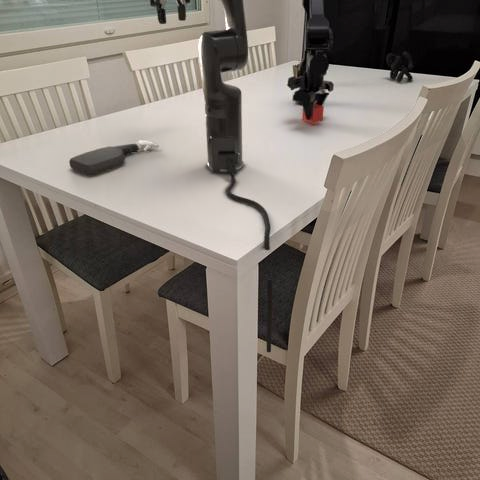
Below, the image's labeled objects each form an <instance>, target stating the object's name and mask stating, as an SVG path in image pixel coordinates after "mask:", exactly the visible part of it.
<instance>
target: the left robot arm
mask: <svg viewBox="0 0 480 480" xmlns="http://www.w3.org/2000/svg"><path fill="white" fill-rule="evenodd" d="M168 1H169V0H149V4H150V7H154V8H155V9H156V14H157V22H158V23H159V24H160V25H166V24H167V14H166V13H167V12H166V9H165V8H166V4H167V2H168ZM174 1H175V3H176V5H177V15H178V20H179V22H180V21H183V22H185V21H186V20H187V9H186V6H187V4H190V3H191V0H174ZM219 2H220V6H221V8H222V11H223V15H224V20H225V21H224V22H225V29H217V30H207V31H204V32H202V34H200V37H199V39H198V40H199V41H198V58H199V66H200V68H199V69H200V76H201V87H202V92H203V98H204V100H203V101H204V116H205V117H204V118H205V133H206V134H205V135H206V151H207V152H206V153H207V168H208V169H209V170H211V172H212V173H228V174H229V176H230V184H229V186H227V187H226V189H225V193H226V195H227V196H228V197H230V198H231V199H232V200H235V201H238V202H242V203H245V204H249V205H251V206H254V207H255V208H256V209H258V210H259V211H260V212H261V214H262V216H263V219H264V224H265V230H264V238H263V245H264V246H263V247H264V250H265V251H270V249H271V247H270V234H271V222H270V219H269V214H268V212H267V211H266V209H265V208H264V207H263V206H262V205H261V204H260V203H258V202H257V201H255V200H253V199H250V198H247V197H243V196H239V195H236V194H234V193H232V191H231V190H232V189H233V188H234V186H235V185H236V177H235V174H234V173H237V171H239V170H240V169H242V168H243V166H244V160H243V114H242V113H243V109H242V108H243V106H242V105H243V104H242V103H243V102H242V101H243V100H242V99H243V98H242V96H243V95H242V90H241V89H240V87H238V86H236V85H232V84H227V83H225V82H224V81H223V78H222V74H224V73H230V72H231V73H232V72H238V71H242V70H244V69H245V67H246V66H247V63H248V59H249V41H248V32H247V31H248V30H247V23H246V14H245V6H244V5H245V4H244V0H219ZM266 290H267V291H266V293H267V295H266V296H267V299H266V302H267V308H266V309H267V310H266V352H267V353H271V352H272V329H273V327H272V326H273V324H272V323H273V280H272V279H266Z"/></svg>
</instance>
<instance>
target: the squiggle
mask: <svg viewBox="0 0 480 480" xmlns="http://www.w3.org/2000/svg"><path fill="white" fill-rule="evenodd" d="M401 57H402V59H401ZM391 59H392V60H391ZM393 60H394V61H393ZM385 61H386V64H387V67H390V68H391V70H390V72H389V78H390V79H391V80H395V79H396V81H397V82H399V83H400V82H402V81H403V79H404V76H406V78H407V80H408V81H412V80H413V79H414V77H413V75H412V74H411V73H410V72H409V71H410V70H412V69H413V68H414V64H413V61H412V57H411V54H410V53H409V52H408V51H403V53H402V54H401V55H396V54H394V53H392V52H390V53H387V55H386V57H385ZM406 62H407V65H408V66H407V67H405V66H404V65H405V64H406ZM400 70H401V71H400Z"/></svg>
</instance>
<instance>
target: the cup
mask: <svg viewBox="0 0 480 480" xmlns="http://www.w3.org/2000/svg"><path fill="white" fill-rule="evenodd" d="M299 64H300V63H298V64H293V65H292V77H293V76H295V77H296V73H297V70H299Z"/></svg>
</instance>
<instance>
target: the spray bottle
mask: <svg viewBox="0 0 480 480" xmlns="http://www.w3.org/2000/svg"><path fill="white" fill-rule="evenodd" d="M159 148H160V145H159V144H158V143H155V142H151V141H148V140H144V139H139V140H138V141H137V142H135V143H129V144H128V143H126V144H122V145H113V146H105V147H100V148H97V149H94V150H90V151H87V152H83V153H81V154H78V155H74V156H73V157H70V159H69V161H68V162H69V167H70V168H71V169H72V170H74V171H75V172H78V173H81V174H83V175H85V176H89V177H90V176H91V177H92V176H95V175H99V174H102V173H105V172H107V171H110V170H113V169H116V168H118V167H120V166H122V165H123V164H124V163H125V158H126V156H127V155H131V154H133V153H138V151H140V150H143V151H144V152H146V151H147V150H149V149H159Z"/></svg>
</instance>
